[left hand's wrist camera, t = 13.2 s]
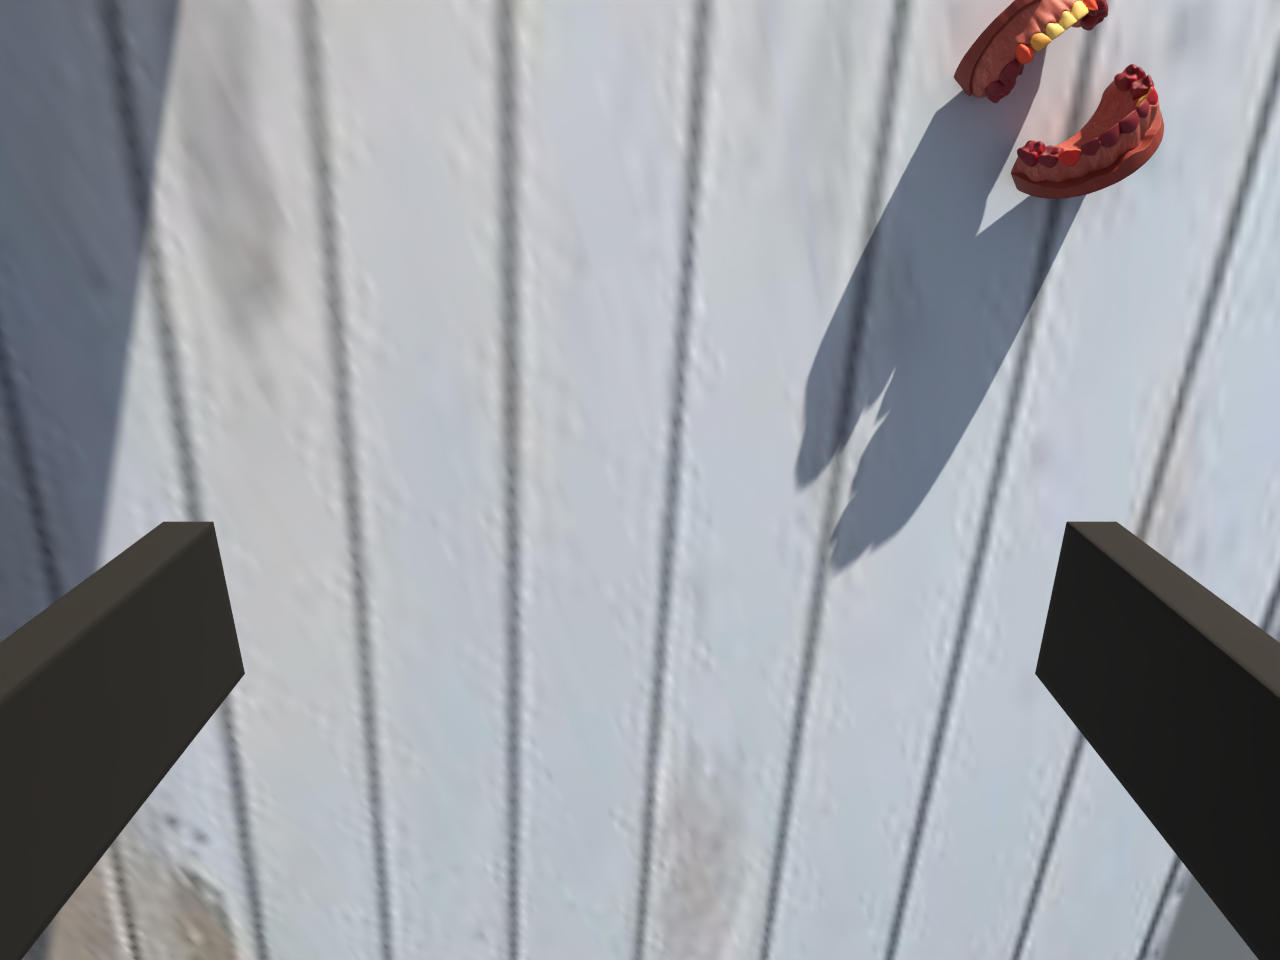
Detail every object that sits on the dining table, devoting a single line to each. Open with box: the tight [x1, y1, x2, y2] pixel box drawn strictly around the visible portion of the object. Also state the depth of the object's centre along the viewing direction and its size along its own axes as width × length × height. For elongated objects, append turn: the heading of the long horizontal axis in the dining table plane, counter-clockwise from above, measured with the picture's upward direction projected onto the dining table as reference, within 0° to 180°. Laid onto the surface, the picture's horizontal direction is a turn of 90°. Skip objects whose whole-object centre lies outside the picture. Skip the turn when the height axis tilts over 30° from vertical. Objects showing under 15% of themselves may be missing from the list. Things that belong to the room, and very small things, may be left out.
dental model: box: [954, 0, 1164, 198], centre depth 31 cm, size 6×4×8 cm
